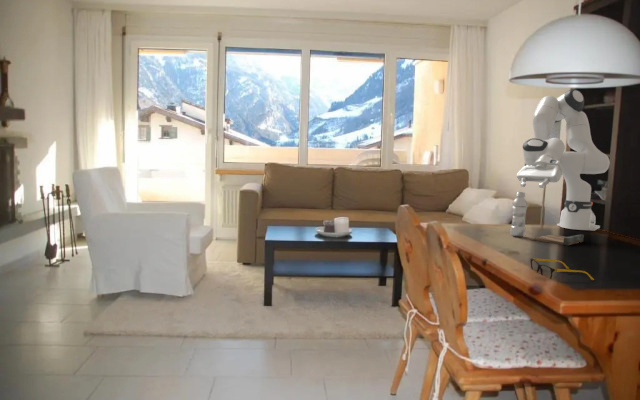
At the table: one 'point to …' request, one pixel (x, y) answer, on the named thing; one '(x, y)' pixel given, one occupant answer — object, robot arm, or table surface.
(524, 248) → the table surface
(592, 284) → the table surface
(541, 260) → the eyeglasses
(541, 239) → the walnut board
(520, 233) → the plastic bottle
